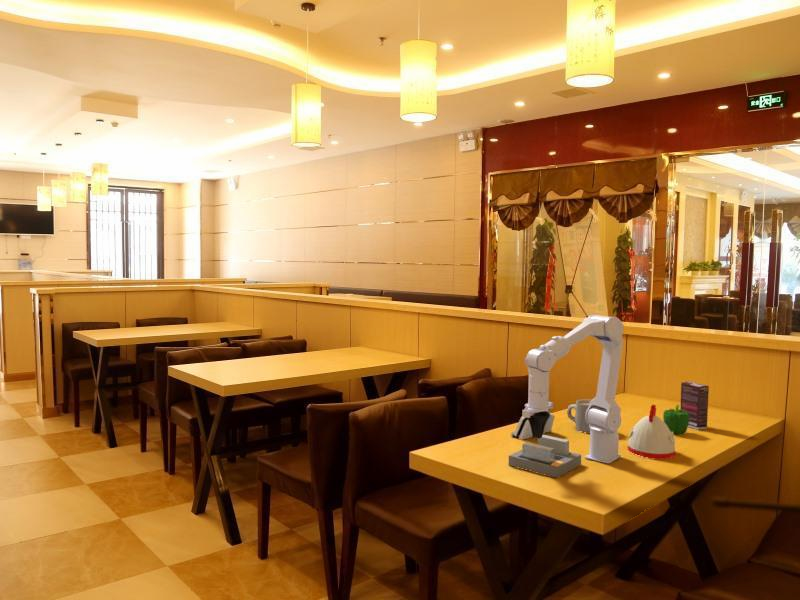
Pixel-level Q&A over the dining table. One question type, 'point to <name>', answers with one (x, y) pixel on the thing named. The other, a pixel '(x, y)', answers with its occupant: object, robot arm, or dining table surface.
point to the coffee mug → (580, 415)
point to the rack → (562, 458)
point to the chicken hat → (652, 438)
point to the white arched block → (525, 428)
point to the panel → (538, 453)
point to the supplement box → (695, 404)
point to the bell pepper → (676, 420)
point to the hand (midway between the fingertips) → (537, 437)
